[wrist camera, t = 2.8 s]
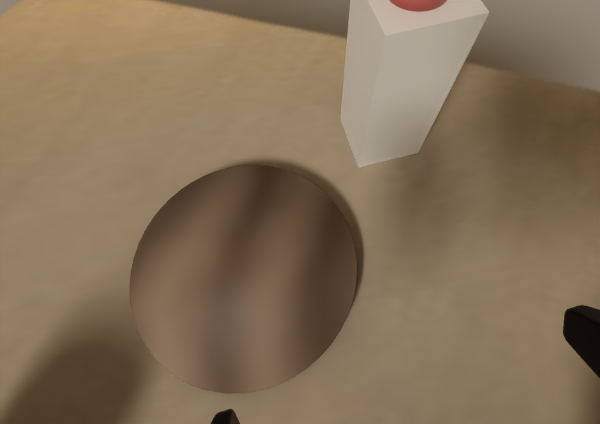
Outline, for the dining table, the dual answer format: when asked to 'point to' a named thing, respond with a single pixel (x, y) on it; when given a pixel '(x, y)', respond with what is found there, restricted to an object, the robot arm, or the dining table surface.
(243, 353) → the walnut serving board
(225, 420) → the robot arm
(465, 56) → the square squeeze bottle
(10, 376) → the dining table surface
